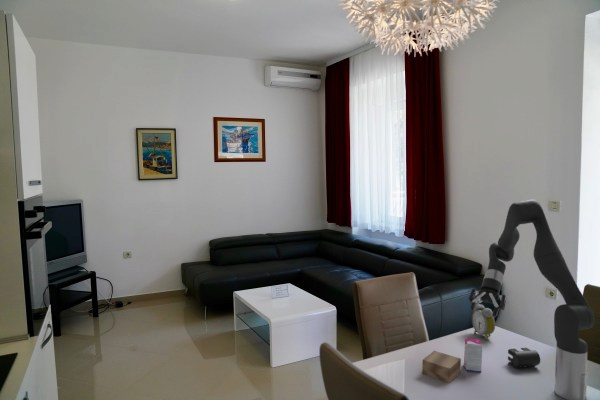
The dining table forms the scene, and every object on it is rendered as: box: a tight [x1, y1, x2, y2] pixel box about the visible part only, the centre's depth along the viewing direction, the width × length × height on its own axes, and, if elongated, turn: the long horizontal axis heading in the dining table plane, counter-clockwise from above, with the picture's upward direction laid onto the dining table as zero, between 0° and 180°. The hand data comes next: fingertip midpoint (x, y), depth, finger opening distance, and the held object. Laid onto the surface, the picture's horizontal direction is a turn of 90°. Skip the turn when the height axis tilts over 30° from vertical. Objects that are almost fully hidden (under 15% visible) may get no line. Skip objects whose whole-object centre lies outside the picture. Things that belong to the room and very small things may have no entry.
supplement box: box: [463, 338, 483, 373], centre depth 166 cm, size 6×6×12 cm
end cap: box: [507, 346, 541, 369], centre depth 168 cm, size 10×7×7 cm
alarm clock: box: [471, 303, 496, 341], centre depth 198 cm, size 12×7×15 cm, turn 10°
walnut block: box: [421, 350, 462, 384], centre depth 163 cm, size 11×11×6 cm
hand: (483, 314), depth 174 cm, fingers open, 8 cm apart
